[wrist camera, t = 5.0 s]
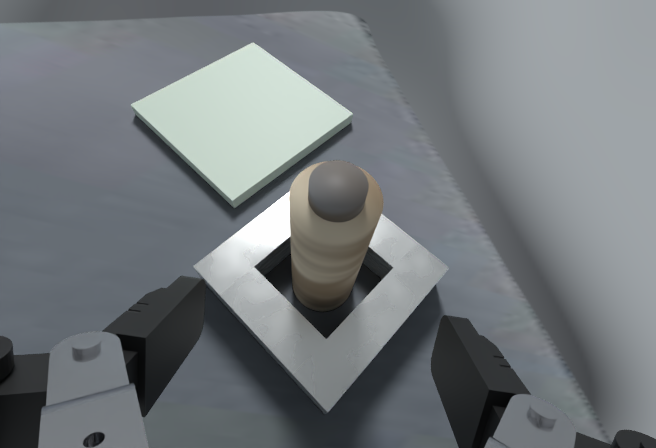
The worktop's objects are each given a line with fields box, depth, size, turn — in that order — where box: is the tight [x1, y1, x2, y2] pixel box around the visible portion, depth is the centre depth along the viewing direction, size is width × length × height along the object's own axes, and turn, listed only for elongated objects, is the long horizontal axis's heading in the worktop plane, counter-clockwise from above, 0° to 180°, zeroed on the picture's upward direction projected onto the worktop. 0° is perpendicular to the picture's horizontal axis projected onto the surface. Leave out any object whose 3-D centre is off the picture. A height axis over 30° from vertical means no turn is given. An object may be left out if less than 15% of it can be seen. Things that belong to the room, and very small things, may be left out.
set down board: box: [131, 43, 353, 208], centre depth 30 cm, size 13×13×1 cm
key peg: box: [289, 160, 383, 312], centre depth 19 cm, size 4×4×11 cm
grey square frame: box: [193, 193, 449, 414], centre depth 22 cm, size 11×11×2 cm
